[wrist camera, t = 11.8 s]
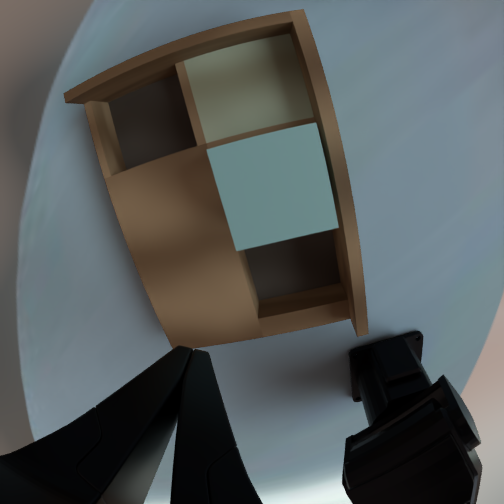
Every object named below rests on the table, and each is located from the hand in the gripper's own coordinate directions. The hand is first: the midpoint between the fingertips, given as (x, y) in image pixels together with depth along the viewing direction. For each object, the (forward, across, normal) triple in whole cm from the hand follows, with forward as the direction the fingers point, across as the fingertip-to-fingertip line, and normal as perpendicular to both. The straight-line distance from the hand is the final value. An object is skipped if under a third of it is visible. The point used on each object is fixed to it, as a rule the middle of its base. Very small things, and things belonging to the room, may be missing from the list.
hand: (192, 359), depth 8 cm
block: (+10, -1, -4) cm, 11 cm away
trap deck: (+13, +1, -2) cm, 13 cm away
